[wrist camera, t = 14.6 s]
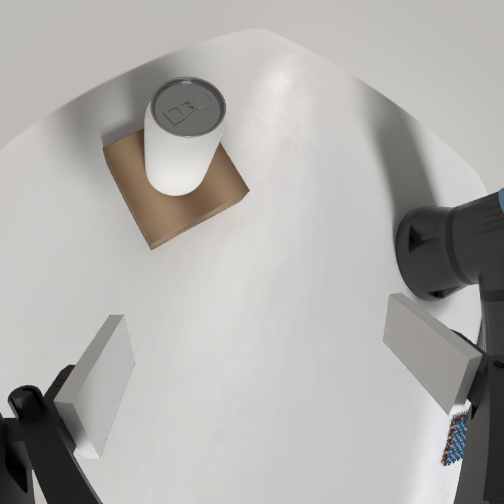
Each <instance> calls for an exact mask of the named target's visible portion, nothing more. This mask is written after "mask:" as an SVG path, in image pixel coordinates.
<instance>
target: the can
mask: <svg viewBox="0 0 504 504" xmlns="http://www.w3.org/2000/svg"><path fill="white" fill-rule="evenodd" d="M225 126H226V103H225V100H224V97H223V95H222V94H221V92H220V91H219V90H218V89H217V88H216V87H215V86H214V85H212V84H211V83H209V82H207V81H205V80H202V79H199V78H194V77H180V78H175V79H172V80H169V81H167V82H165V83H164V84H162V85H161V86H160V87H159V88H158V89H157V90H156V91H155V93H154V94H153V96H152V99H151V101H150V102H149V104H148V106H147V109H146V112H145V120H144V150H145V171H146V176H147V178H148V180H149V182H150V184H151V185H152V186H153V187H154V188H155V189H156V190H158V191H159V192H161V193H163V194H166V195H171V196H180V195H184V194H187V193H190V192H191V191H193V190H195V189H196V188H197V187H198V186H199V185H200V183H201V182H202V180H203V178H204V176H205V174H206V172H207V170H208V167H209V165H210V163H211V160H212V158H213V156H214V153H215V151H216V149H217V147H218V144H219V142H220V140H221V137H222V135H223V132H224V130H225Z"/></svg>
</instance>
